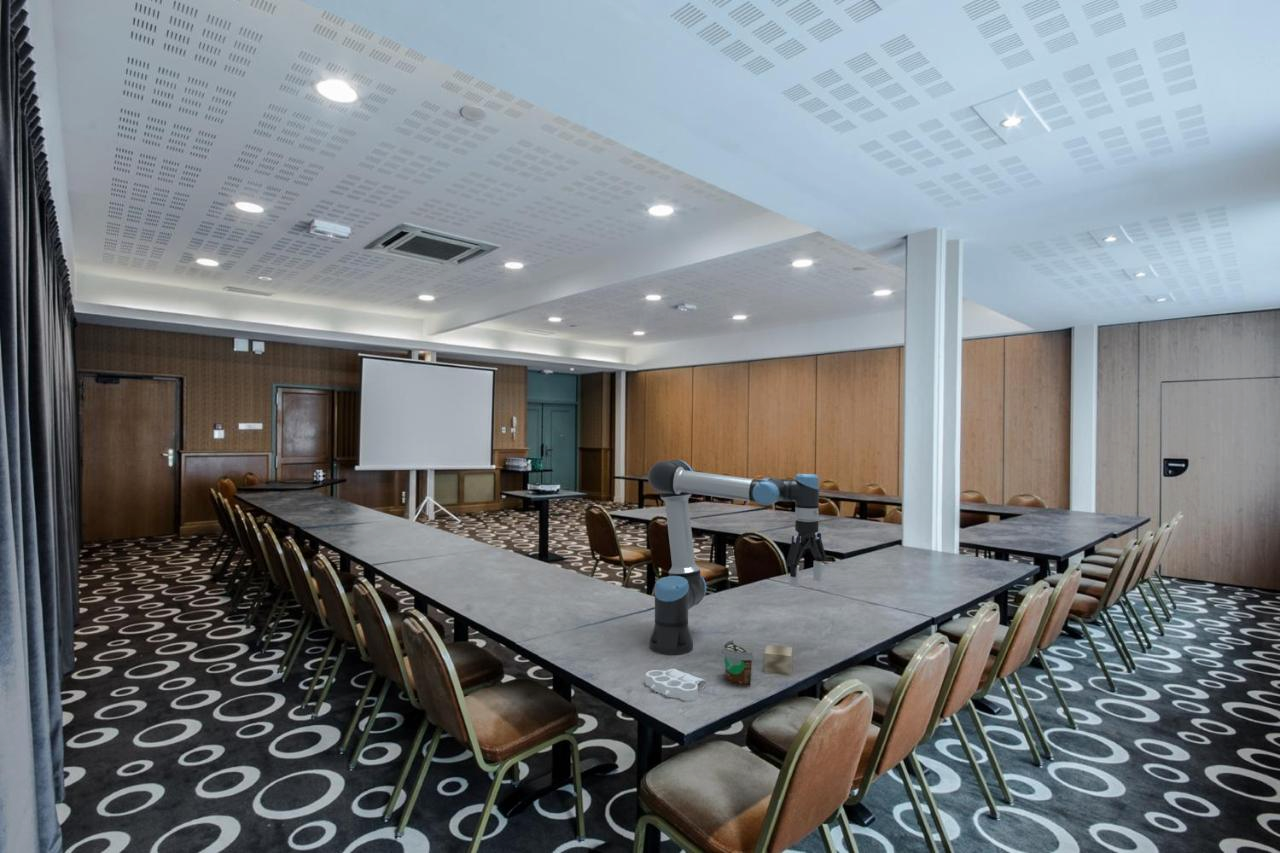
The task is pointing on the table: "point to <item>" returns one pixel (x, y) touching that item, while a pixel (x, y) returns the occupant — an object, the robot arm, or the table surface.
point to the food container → (737, 664)
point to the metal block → (778, 659)
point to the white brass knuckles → (675, 684)
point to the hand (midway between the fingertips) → (806, 583)
